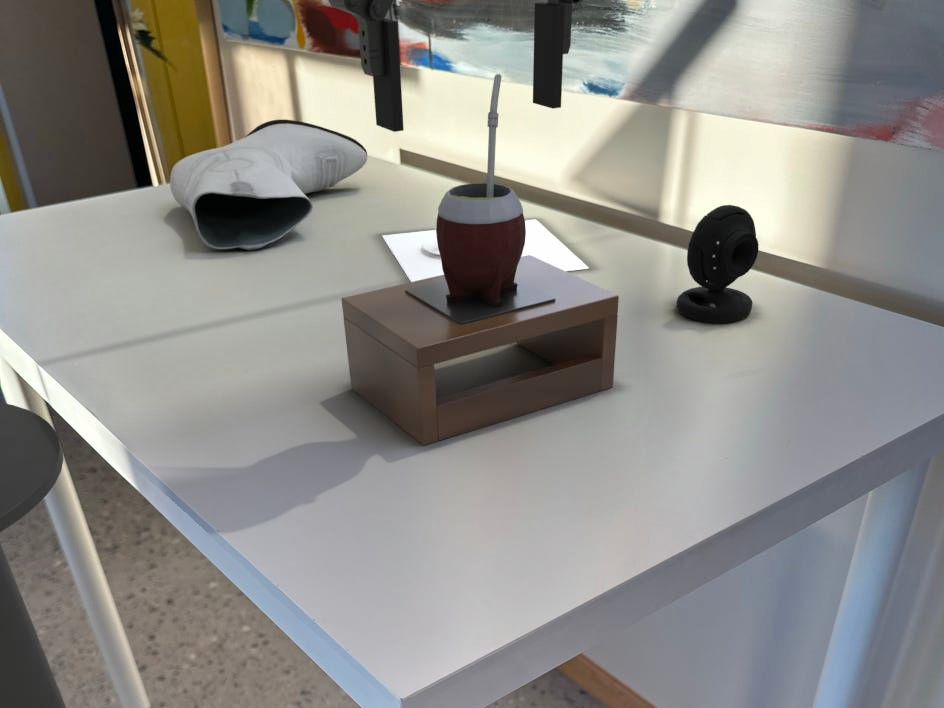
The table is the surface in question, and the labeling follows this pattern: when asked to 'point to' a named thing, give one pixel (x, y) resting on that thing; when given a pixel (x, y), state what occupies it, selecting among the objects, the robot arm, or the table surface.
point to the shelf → (479, 347)
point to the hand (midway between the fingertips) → (471, 116)
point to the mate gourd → (481, 232)
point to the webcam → (720, 265)
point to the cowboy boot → (262, 181)
